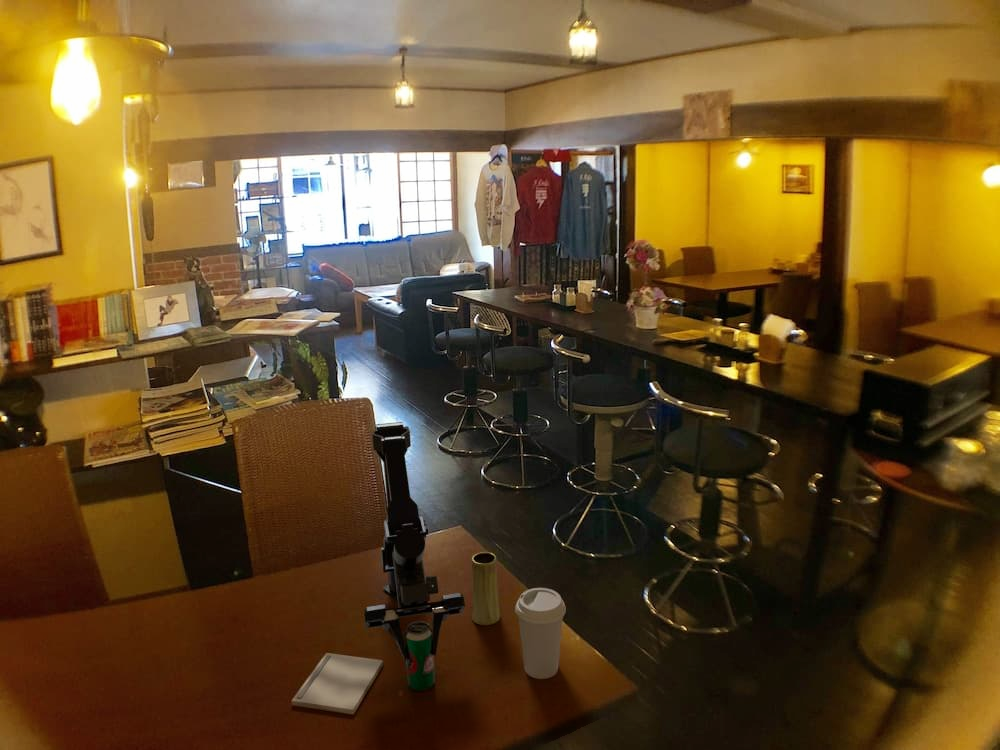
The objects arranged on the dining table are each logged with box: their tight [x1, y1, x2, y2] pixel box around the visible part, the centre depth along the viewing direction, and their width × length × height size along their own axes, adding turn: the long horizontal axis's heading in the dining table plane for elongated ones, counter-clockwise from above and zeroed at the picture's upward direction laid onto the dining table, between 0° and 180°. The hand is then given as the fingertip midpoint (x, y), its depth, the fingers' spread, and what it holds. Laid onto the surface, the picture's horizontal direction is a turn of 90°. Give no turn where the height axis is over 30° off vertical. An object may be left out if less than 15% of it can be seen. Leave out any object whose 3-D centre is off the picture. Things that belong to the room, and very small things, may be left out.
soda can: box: [404, 620, 436, 692], centre depth 137 cm, size 5×5×12 cm
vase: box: [471, 551, 501, 626], centre depth 157 cm, size 6×6×14 cm
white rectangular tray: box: [291, 652, 384, 715], centre depth 138 cm, size 14×12×1 cm
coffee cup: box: [514, 587, 567, 680], centre depth 140 cm, size 10×10×15 cm
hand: (420, 657), depth 135 cm, fingers closed on soda can, 5 cm apart
